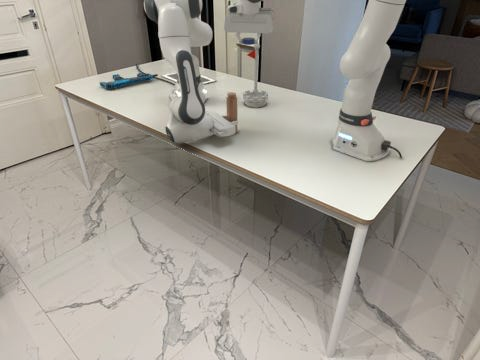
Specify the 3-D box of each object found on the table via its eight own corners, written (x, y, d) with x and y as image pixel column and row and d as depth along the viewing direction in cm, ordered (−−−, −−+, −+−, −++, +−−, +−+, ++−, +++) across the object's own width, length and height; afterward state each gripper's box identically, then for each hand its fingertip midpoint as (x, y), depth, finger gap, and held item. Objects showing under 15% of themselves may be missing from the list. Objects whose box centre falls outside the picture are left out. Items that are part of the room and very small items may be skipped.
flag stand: (261, 97, 185) (263, 39, 169) (271, 105, 175) (275, 44, 158) (239, 100, 181) (239, 41, 165) (248, 109, 171) (249, 46, 154)
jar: (225, 132, 148) (223, 94, 139) (231, 129, 152) (230, 91, 142) (233, 135, 146) (233, 96, 137) (239, 131, 149) (239, 93, 140)
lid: (257, 43, 145) (257, 38, 144) (250, 45, 141) (250, 40, 140) (246, 41, 147) (246, 37, 146) (239, 43, 143) (239, 39, 142)
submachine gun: (143, 67, 226) (161, 73, 210) (144, 73, 228) (162, 79, 212) (92, 77, 208) (107, 85, 191) (93, 83, 210) (109, 91, 193)
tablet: (161, 76, 220) (161, 75, 220) (187, 70, 231) (187, 69, 231) (189, 87, 200) (189, 87, 199) (216, 81, 211) (216, 80, 210)
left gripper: (216, 128, 131) (246, 120, 137) (194, 111, 146) (222, 105, 152) (217, 142, 135) (246, 135, 140) (195, 124, 149) (223, 118, 155)
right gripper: (275, 7, 138) (273, 43, 145) (225, 6, 140) (226, 41, 148) (274, 9, 133) (272, 46, 140) (222, 8, 135) (223, 44, 143)
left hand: (233, 119), depth 146 cm, fingers closed on jar, 4 cm apart
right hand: (248, 44), depth 144 cm, fingers closed on lid, 5 cm apart
